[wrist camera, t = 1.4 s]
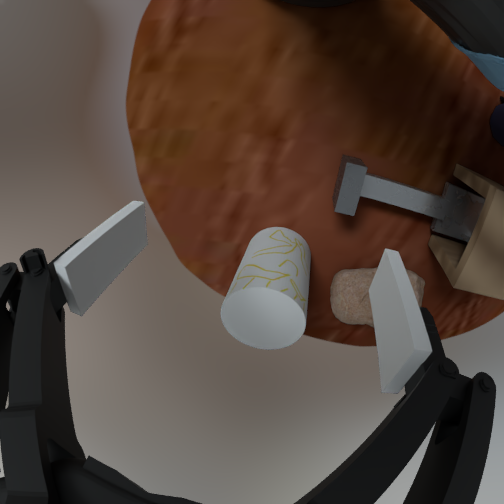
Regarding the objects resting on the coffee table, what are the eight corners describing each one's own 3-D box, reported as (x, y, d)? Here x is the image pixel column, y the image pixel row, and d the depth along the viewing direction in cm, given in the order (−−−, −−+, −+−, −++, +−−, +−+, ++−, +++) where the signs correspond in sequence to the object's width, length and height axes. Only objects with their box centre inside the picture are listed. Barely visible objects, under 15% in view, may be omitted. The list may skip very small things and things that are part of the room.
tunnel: (456, 163, 25) (496, 188, 17) (505, 187, 24) (545, 216, 16) (427, 244, 31) (453, 287, 23) (476, 258, 30) (504, 300, 22)
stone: (419, 260, 35) (431, 262, 26) (421, 324, 34) (431, 346, 25) (336, 267, 40) (321, 272, 31) (339, 329, 40) (325, 352, 31)
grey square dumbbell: (343, 148, 27) (348, 157, 24) (515, 213, 25) (533, 228, 21) (331, 200, 31) (333, 216, 27) (499, 251, 28) (514, 269, 24)
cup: (320, 240, 34) (320, 305, 24) (297, 289, 38) (287, 358, 28) (257, 218, 34) (231, 274, 24) (240, 269, 39) (213, 333, 29)
